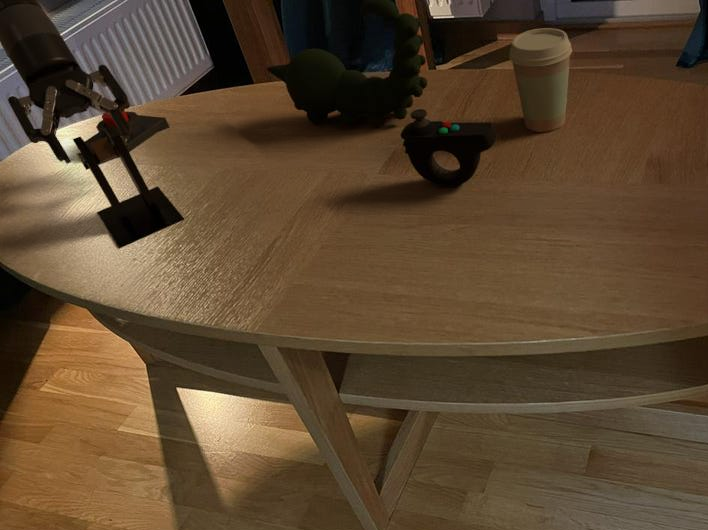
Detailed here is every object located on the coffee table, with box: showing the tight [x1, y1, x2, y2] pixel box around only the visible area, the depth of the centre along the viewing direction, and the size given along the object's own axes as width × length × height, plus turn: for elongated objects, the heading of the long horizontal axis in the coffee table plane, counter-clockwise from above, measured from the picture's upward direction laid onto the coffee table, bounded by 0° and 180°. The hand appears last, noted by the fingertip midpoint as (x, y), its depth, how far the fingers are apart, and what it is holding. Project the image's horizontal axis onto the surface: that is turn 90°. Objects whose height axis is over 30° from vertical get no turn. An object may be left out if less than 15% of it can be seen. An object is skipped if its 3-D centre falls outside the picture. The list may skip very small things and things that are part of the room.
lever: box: [82, 137, 120, 170], centre depth 94 cm, size 13×6×2 cm, turn 36°
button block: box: [84, 111, 171, 154], centre depth 115 cm, size 11×9×4 cm
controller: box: [400, 108, 498, 188], centre depth 90 cm, size 4×12×10 cm, turn 76°
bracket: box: [72, 125, 185, 249], centre depth 93 cm, size 12×9×13 cm
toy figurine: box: [266, 0, 428, 128], centre depth 105 cm, size 9×19×25 cm
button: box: [101, 109, 129, 127], centre depth 113 cm, size 4×4×2 cm
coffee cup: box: [508, 27, 573, 133], centre depth 98 cm, size 8×8×12 cm
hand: (98, 149), depth 100 cm, fingers open, 8 cm apart
